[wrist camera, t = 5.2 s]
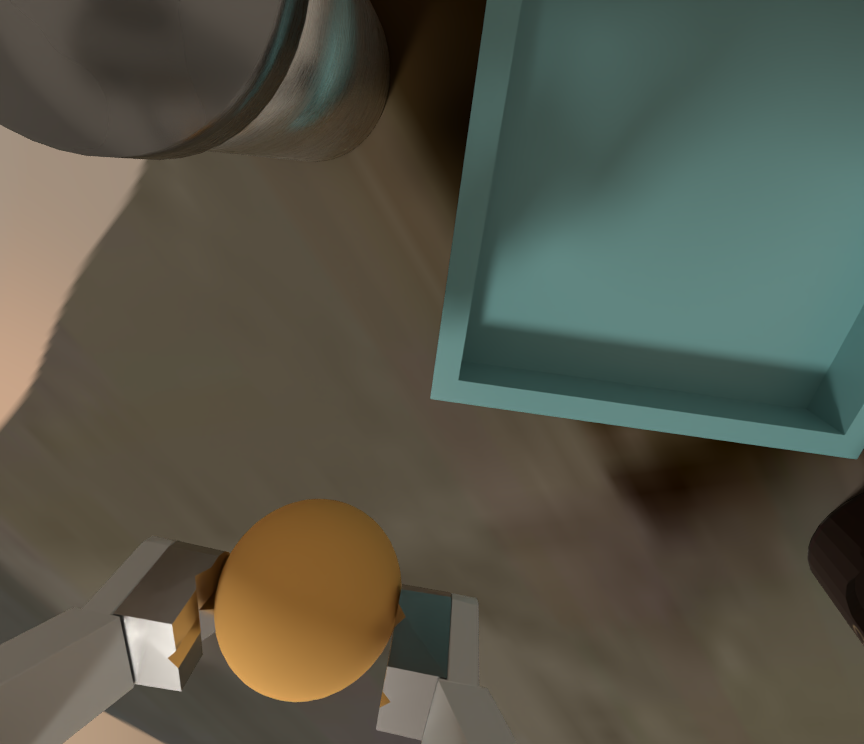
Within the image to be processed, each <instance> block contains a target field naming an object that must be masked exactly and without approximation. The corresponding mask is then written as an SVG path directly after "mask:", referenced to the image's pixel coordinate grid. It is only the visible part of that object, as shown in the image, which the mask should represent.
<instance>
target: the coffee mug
mask: <svg viewBox="0 0 864 744" xmlns="http://www.w3.org/2000/svg"><path fill="white" fill-rule="evenodd" d="M808 563H809V567H810V570H811V571H812V573H813V574H814V576H815V577H816V579H817V580H818V582H819V583H820V584H821V586H822V587H823V589H824V590H825V592H826V593H827V594H828V596H829V597H830V599H831V600H832V601H833V603H834V604H835V606H836V607H837V609H838V610H839V611H840V613H841V614H842V616H843V617H844V619H845V620H846V621H847V623H848V624H849V626H850V627H851V628H852V630H853V631H854V633H855V634H856V636H857V637H858V638H859V640H860V641H861V643H862V644H863V645H864V493H863V494H861V495H859V496H857V497H855V498H853V499H851V500H850V501H848V502H846V503H845V504H843V505H841V506H840V507H839V508H838V509H836V510H835V511H834V512H833V513H831V514H830V515H829V516H828V517H827V518H826V519H825V520H824V521H823V522H822V524H821V525H820V526H819V527H818V529H817V530H816V532H815V534H814V535H813V537H812V539H811V542H810V545H809V548H808Z"/></svg>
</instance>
